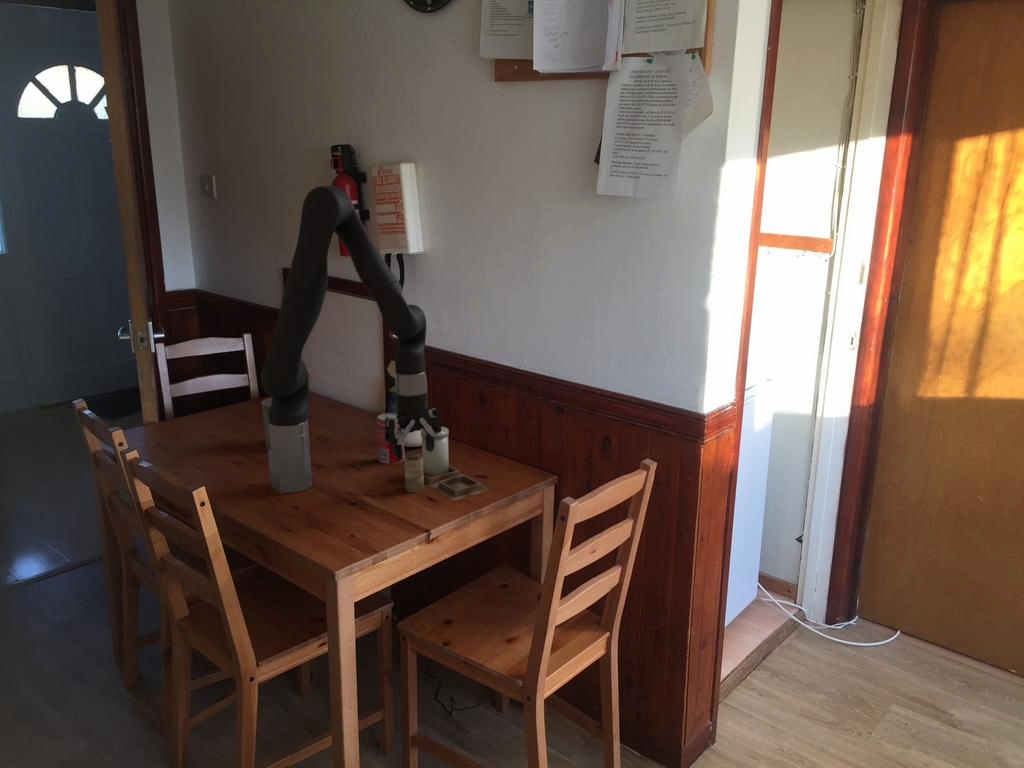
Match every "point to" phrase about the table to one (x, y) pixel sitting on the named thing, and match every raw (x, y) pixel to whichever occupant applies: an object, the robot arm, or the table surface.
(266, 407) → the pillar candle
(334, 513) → the table surface
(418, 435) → the flower in vase
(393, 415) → the soda can
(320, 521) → the table surface
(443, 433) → the sage jar
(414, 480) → the oak mill
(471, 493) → the walnut holder
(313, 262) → the robot arm
